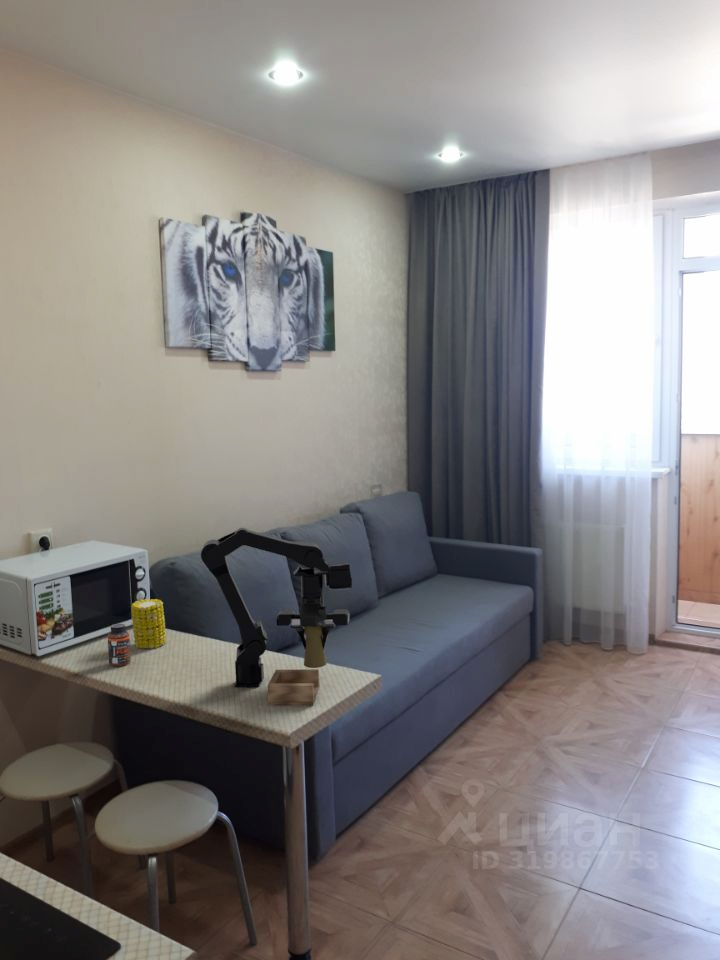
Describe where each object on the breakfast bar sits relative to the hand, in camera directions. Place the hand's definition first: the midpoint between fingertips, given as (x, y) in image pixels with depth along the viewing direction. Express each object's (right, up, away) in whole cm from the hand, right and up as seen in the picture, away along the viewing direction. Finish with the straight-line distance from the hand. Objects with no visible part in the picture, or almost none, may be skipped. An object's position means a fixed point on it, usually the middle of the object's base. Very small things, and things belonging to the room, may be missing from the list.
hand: (314, 649), depth 197 cm
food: (-52, -6, +32) cm, 62 cm away
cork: (0, -4, 0) cm, 4 cm away
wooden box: (-4, -9, -12) cm, 16 cm away
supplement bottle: (-57, -8, +16) cm, 60 cm away
